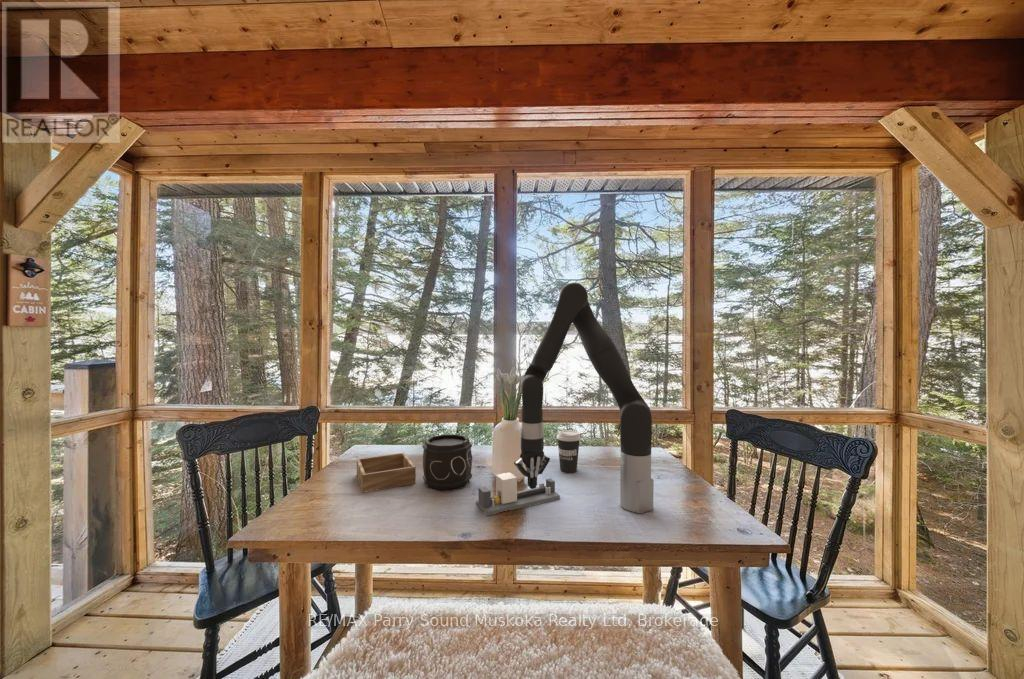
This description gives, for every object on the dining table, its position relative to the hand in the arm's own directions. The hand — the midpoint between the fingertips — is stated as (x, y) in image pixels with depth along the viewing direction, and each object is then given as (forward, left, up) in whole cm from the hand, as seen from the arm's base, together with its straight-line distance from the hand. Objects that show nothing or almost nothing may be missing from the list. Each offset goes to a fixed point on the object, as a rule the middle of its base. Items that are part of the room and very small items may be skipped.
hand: (532, 487), depth 130 cm
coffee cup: (+17, -26, -4) cm, 31 cm away
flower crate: (+41, +40, -4) cm, 57 cm away
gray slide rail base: (+1, +5, -4) cm, 6 cm away
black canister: (+27, +20, -4) cm, 33 cm away
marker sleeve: (+1, +9, -2) cm, 10 cm away
